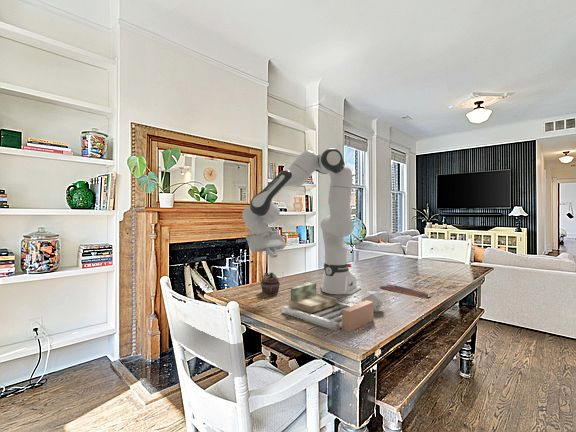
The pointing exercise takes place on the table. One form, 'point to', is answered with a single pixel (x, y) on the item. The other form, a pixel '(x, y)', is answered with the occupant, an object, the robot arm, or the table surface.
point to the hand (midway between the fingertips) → (274, 256)
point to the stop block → (357, 315)
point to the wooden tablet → (404, 290)
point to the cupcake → (270, 284)
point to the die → (373, 299)
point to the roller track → (320, 315)
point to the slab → (309, 298)
